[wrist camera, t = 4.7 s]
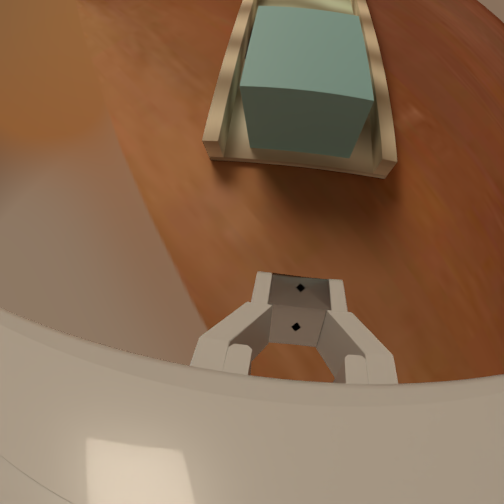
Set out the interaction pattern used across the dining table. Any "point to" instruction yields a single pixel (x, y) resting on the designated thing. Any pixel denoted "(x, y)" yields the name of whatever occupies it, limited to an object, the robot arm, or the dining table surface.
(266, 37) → the teal block
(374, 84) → the trap lane
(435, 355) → the dining table surface
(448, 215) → the dining table surface
